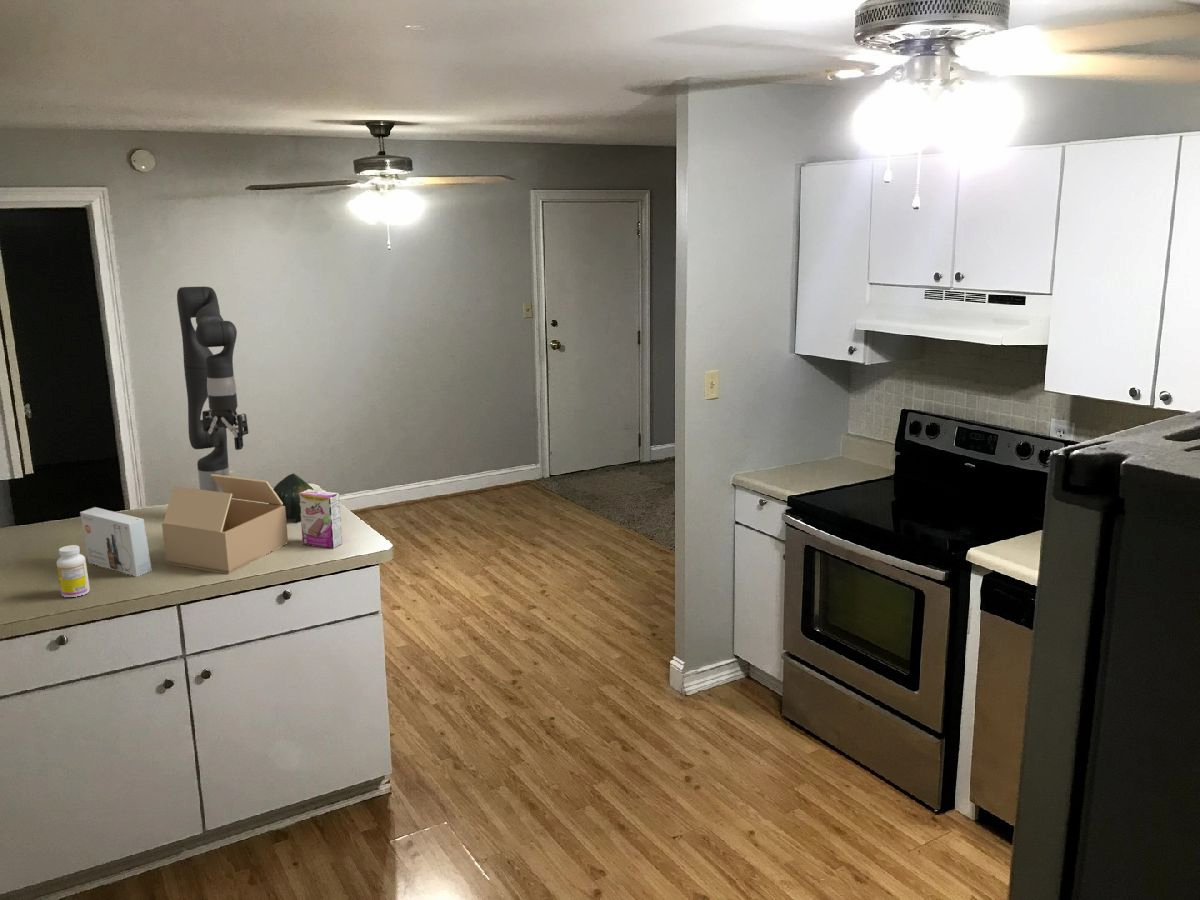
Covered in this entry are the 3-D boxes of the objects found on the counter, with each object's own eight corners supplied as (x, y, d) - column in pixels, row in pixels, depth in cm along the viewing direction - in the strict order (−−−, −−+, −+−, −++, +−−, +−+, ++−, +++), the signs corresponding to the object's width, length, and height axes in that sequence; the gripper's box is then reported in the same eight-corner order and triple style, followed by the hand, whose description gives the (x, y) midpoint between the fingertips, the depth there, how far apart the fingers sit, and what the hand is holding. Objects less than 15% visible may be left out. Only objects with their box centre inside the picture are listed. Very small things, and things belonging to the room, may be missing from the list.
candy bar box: (301, 545, 284) (297, 493, 280) (311, 539, 289) (307, 488, 284) (333, 549, 280) (329, 497, 276) (343, 544, 285) (339, 492, 281)
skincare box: (86, 564, 268) (78, 511, 264) (103, 558, 273) (96, 506, 269) (135, 578, 259) (128, 523, 254) (152, 571, 263) (146, 517, 259)
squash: (284, 513, 295) (305, 471, 301) (252, 507, 303) (274, 466, 309) (313, 532, 306) (333, 492, 312) (282, 526, 314) (302, 486, 320)
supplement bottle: (68, 589, 251) (61, 543, 248) (94, 588, 251) (88, 543, 248) (56, 599, 244) (49, 552, 241) (83, 598, 245) (76, 552, 242)
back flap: (210, 475, 281) (211, 473, 281) (228, 497, 289) (229, 496, 289) (266, 482, 274) (267, 480, 275) (282, 505, 282) (283, 503, 282)
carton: (166, 563, 269) (161, 523, 266) (229, 535, 292) (225, 498, 289) (229, 574, 262) (224, 533, 259) (288, 543, 285) (285, 506, 282)
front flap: (164, 523, 265) (163, 523, 265) (175, 486, 268) (173, 486, 267) (221, 532, 259) (220, 531, 258) (232, 494, 261) (231, 493, 261)
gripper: (192, 392, 265) (198, 448, 269) (232, 396, 260) (237, 453, 264) (212, 387, 271) (217, 442, 276) (251, 391, 266) (256, 447, 270)
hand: (227, 447), depth 270 cm, fingers open, 8 cm apart
